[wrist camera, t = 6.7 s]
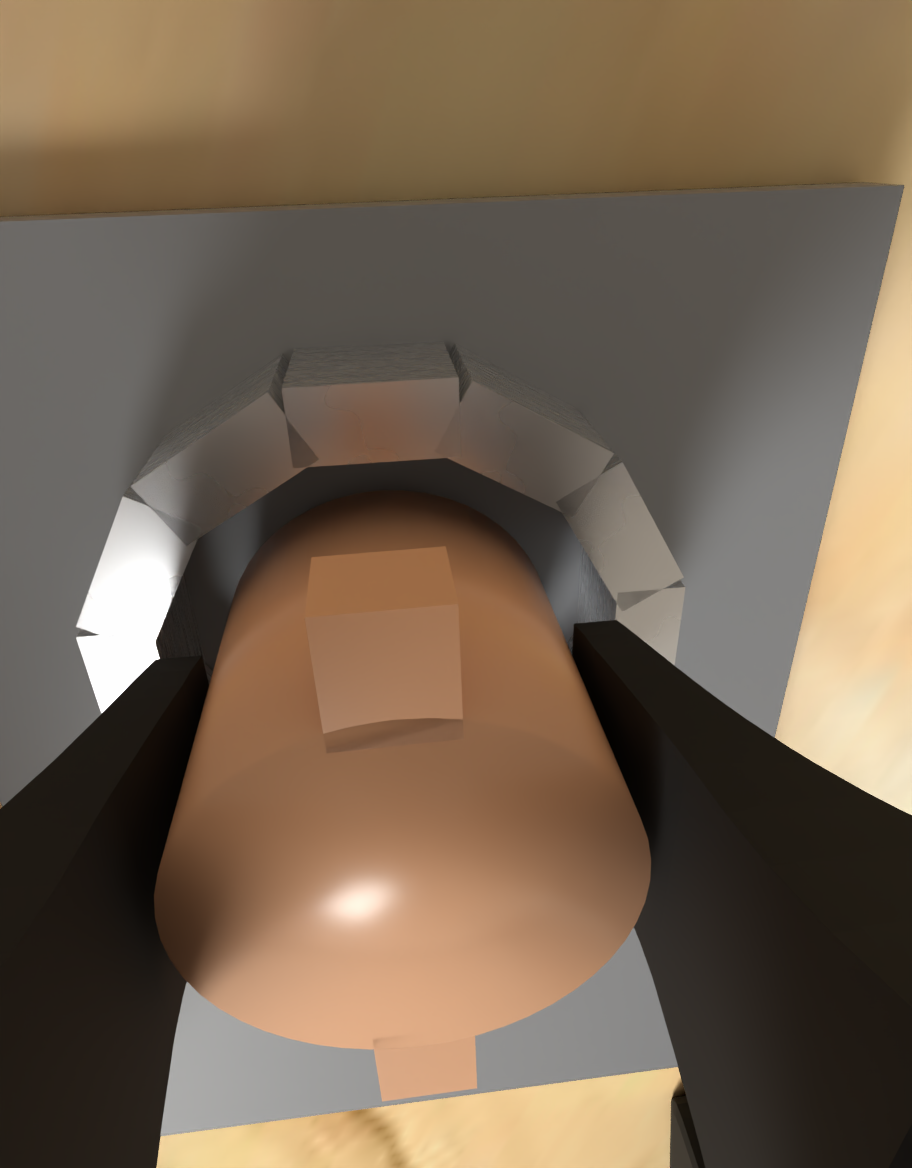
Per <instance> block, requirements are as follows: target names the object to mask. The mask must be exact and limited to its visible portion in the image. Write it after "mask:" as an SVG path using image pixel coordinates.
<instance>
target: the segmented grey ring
mask: <svg viewBox="0 0 912 1168" xmlns="http://www.w3.org/2000/svg"><path fill="white" fill-rule="evenodd" d="M437 458H448V459H450V460H453V461H455V462H457V463H459V464H461V465H463V466H465V467H467V468H469V469H472V470H474V471H476V472H478V473H480V474H482V475H484V476H486V477H488V478H491V479H493V480H495V481H497V482H499V483H501V484H503V485H505V486H507V487H510V488H512V489H514V490H516V491H518V492H520V493H522V494H524V495H526V496H529V497H531V498H533V499H535V500H537V501H539V502H541V503H543V504H545V505H547V506H550V507H552V508H554V509H556V510H558V511H560V512H562V514H563V515H564V517H565V519H566V520H567V522H568V524H569V525H570V527H571V528H572V530H573V532H574V533H575V535H576V537H577V538H578V540H579V542H580V543H581V545H582V548H581V565H580V582H579V599H578V616H577V623H586V622H598V621H610V620H617V621H619V622H620V623H621V624H623V625H624V626H626V627H627V628H628V629H629V630H631V631H632V632H633V633H634V634H636V635H637V636H638V637H639V638H641V639H642V640H643V641H644V642H646V643H647V644H648V645H649V646H651V647H652V648H653V649H654V650H656V651H657V652H658V653H659V654H661V655H662V656H663V657H664V658H666V659H667V660H668V661H669V662H671V663H672V664H673V665H675V658H676V651H677V644H678V637H679V630H680V623H681V616H682V609H683V601H684V594H685V586H684V584H683V583H682V582H681V580H680V579H682V578H684V576H683V575H682V573H681V571H680V569H679V567H678V565H677V563H676V561H675V560H674V558H673V556H672V554H671V552H670V550H669V548H668V546H667V545H666V543H665V541H664V539H663V537H662V535H661V533H660V531H659V530H658V528H657V526H656V524H655V522H654V520H653V518H652V516H651V515H650V513H649V511H648V509H647V507H646V505H645V503H644V501H643V500H642V498H641V496H640V494H639V492H638V490H637V488H636V486H635V485H634V483H633V481H632V479H631V477H630V475H629V473H628V471H627V470H626V468H625V466H624V464H623V462H622V461H621V460H620V458H619V457H618V456H617V455H616V454H615V452H614V451H613V450H612V449H611V448H610V446H609V445H608V444H607V443H606V442H605V440H604V439H603V438H602V437H601V436H600V435H599V433H598V432H597V431H596V430H595V429H594V427H593V426H592V425H591V424H590V423H589V421H588V420H587V419H586V418H585V417H584V415H583V416H582V415H581V413H580V412H579V411H578V410H577V409H576V408H575V407H573V406H571V405H569V404H568V403H566V402H564V401H562V400H560V399H558V398H556V397H554V396H553V395H551V394H549V393H547V392H545V391H543V390H541V389H539V388H537V387H536V386H534V385H532V384H530V383H528V382H526V381H524V380H522V379H520V378H519V377H517V376H515V375H513V374H511V373H509V372H507V371H505V370H503V369H502V368H500V367H498V366H496V365H494V364H492V363H490V362H488V361H487V360H485V359H483V358H481V357H479V356H477V355H475V354H473V353H471V352H470V351H468V350H466V349H464V348H462V347H460V346H458V345H456V344H454V346H453V348H452V350H451V352H450V354H448V351H447V349H446V347H445V344H444V342H443V341H436V342H418V343H400V344H381V345H363V346H345V347H326V348H308V349H294V351H293V354H292V357H291V360H290V362H289V361H288V360H287V358H286V357H285V356H284V354H283V353H282V354H281V355H279V356H278V357H276V358H275V359H273V360H272V361H270V362H269V363H268V364H266V365H265V366H263V367H262V368H260V369H259V370H257V371H256V372H255V373H253V374H252V375H250V376H249V377H247V378H246V379H244V380H243V381H242V382H240V383H239V384H237V385H236V386H234V387H233V388H231V389H230V390H229V391H227V392H226V393H224V394H223V395H221V396H220V397H218V398H217V399H216V400H214V401H213V402H211V403H210V404H208V405H207V406H205V407H204V408H203V409H201V410H200V411H198V412H197V413H195V414H194V415H193V416H191V417H190V418H188V419H187V420H185V421H184V422H182V423H181V424H180V425H178V426H177V427H175V428H174V429H172V430H171V431H169V432H168V433H167V434H166V435H165V436H164V438H163V439H162V441H161V442H159V444H158V445H157V447H156V448H155V450H154V451H153V453H152V454H151V456H150V457H149V459H148V460H147V461H146V463H145V464H144V466H143V467H142V469H141V470H140V472H139V473H138V475H137V476H136V478H135V479H134V480H133V482H132V483H131V485H130V486H129V488H128V489H127V491H126V492H125V494H124V495H123V497H122V500H121V502H120V505H119V508H118V511H117V514H116V516H115V519H114V522H113V525H112V528H111V530H110V533H109V536H108V539H107V542H106V544H105V547H104V550H103V553H102V556H101V558H100V561H99V564H98V567H97V570H96V572H95V575H94V578H93V581H92V584H91V586H90V589H89V592H88V595H87V597H86V600H85V603H84V606H83V609H82V611H81V614H80V617H79V620H78V623H77V625H76V627H78V628H81V630H80V631H79V633H78V635H77V637H76V639H77V642H78V645H79V648H80V651H81V654H82V657H83V660H84V663H85V665H86V668H87V671H88V674H89V677H90V680H91V683H92V686H93V689H94V692H95V695H96V698H97V701H98V704H99V707H100V710H101V713H103V712H104V711H105V710H106V709H107V708H108V707H109V706H110V704H111V703H112V702H113V701H114V700H115V699H116V698H117V697H118V696H119V695H120V694H121V693H122V692H123V691H124V690H125V689H126V688H127V687H128V686H129V685H130V684H131V683H132V682H133V681H134V680H135V679H136V678H137V677H138V676H139V675H140V674H141V673H142V672H143V671H144V670H145V669H146V668H147V667H148V666H149V665H150V664H151V663H152V662H154V661H155V660H156V659H166V658H178V657H189V656H201V655H202V657H203V662H204V666H205V670H206V674H207V678H208V682H209V684H210V680H211V677H212V673H213V668H212V667H211V666H210V665H209V664H208V663H207V662H206V661H205V658H204V654H203V650H202V645H201V641H200V637H199V633H198V629H197V624H196V620H195V616H194V612H193V608H192V604H191V599H190V595H189V591H188V587H187V583H186V578H185V574H184V571H185V568H186V566H187V564H188V561H189V559H190V556H191V554H192V552H193V549H194V547H195V544H196V542H197V539H198V538H200V537H201V536H203V535H204V534H206V533H208V532H209V531H211V530H212V529H214V528H215V527H217V526H218V525H220V524H221V523H223V522H224V521H226V520H227V519H229V518H230V517H232V516H234V515H235V514H237V513H238V512H240V511H241V510H243V509H244V508H246V507H247V506H249V505H250V504H252V503H253V502H255V501H256V500H258V499H260V498H261V497H263V496H264V495H266V494H267V493H269V492H270V491H272V490H273V489H275V488H276V487H278V486H279V485H281V484H282V483H284V482H286V481H287V480H289V479H290V478H292V477H293V476H295V475H296V474H298V473H299V472H301V471H302V470H304V469H305V468H307V467H318V466H333V465H348V464H362V463H377V462H392V461H407V460H422V459H437ZM567 644H568V647H569V649H570V652H571V654H572V647H573V635H572V636H571V638H570V639H569V641H568V642H567Z"/></svg>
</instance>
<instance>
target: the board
mask: <svg viewBox="0 0 912 1168" xmlns="http://www.w3.org/2000/svg"><path fill="white" fill-rule="evenodd" d="M903 189H904V185H893V184H878V183H863V182H862V183H837V184H812V185H787V186H762V187H737V188H712V189H686V190H661V191H636V192H611V193H586V194H561V195H536V196H511V197H485V198H460V199H435V200H410V201H385V202H360V203H335V204H310V205H284V206H259V207H234V208H209V209H184V210H159V211H134V212H109V213H83V214H58V215H33V216H8V217H0V803H1V805H2V807H3V806H4V805H5V804H6V803H7V802H8V801H10V800H11V799H12V798H13V797H14V796H15V795H16V794H17V793H18V792H20V791H21V790H22V789H23V788H24V787H25V786H26V785H27V784H28V783H30V782H31V781H32V780H33V779H34V778H35V777H36V776H37V775H38V774H40V773H41V772H42V771H43V770H44V769H45V768H46V767H47V766H48V765H50V764H51V763H52V762H53V761H54V760H55V759H56V758H57V757H58V756H59V755H60V754H61V753H62V752H63V751H64V750H65V749H66V748H67V747H68V746H69V745H70V744H71V743H72V742H73V741H74V740H75V739H76V738H77V737H78V736H79V735H80V734H81V733H82V732H83V731H84V730H85V729H87V728H88V727H89V726H90V725H91V724H92V723H93V722H94V721H95V720H96V719H97V718H98V717H99V716H100V715H101V714H102V713H101V710H100V707H99V704H98V701H97V698H96V695H95V692H94V689H93V686H92V683H91V680H90V677H89V674H88V671H87V668H86V665H85V663H84V660H83V657H82V654H81V651H80V648H79V645H78V642H77V639H76V637H77V635H78V633H79V631H80V630H81V628H78V627H76V625H77V623H78V620H79V617H80V614H81V611H82V609H83V606H84V603H85V600H86V597H87V595H88V592H89V589H90V586H91V584H92V581H93V578H94V575H95V572H96V570H97V567H98V564H99V561H100V558H101V556H102V553H103V550H104V547H105V544H106V542H107V539H108V536H109V533H110V530H111V528H112V525H113V522H114V519H115V516H116V514H117V511H118V508H119V505H120V502H121V500H122V497H123V495H124V494H125V492H126V491H127V489H128V488H129V486H130V485H131V483H132V482H133V480H134V479H135V478H136V476H137V475H138V473H139V472H140V470H141V469H142V467H143V466H144V464H145V463H146V461H147V460H148V459H149V457H150V456H151V454H152V453H153V451H154V450H155V448H156V447H157V445H158V444H159V442H161V441H162V439H163V438H164V436H165V435H166V434H167V433H168V432H169V431H171V430H172V429H174V428H175V427H177V426H178V425H180V424H181V423H182V422H184V421H185V420H187V419H188V418H190V417H191V416H193V415H194V414H195V413H197V412H198V411H200V410H201V409H203V408H204V407H205V406H207V405H208V404H210V403H211V402H213V401H214V400H216V399H217V398H218V397H220V396H221V395H223V394H224V393H226V392H227V391H229V390H230V389H231V388H233V387H234V386H236V385H237V384H239V383H240V382H242V381H243V380H244V379H246V378H247V377H249V376H250V375H252V374H253V373H255V372H256V371H257V370H259V369H260V368H262V367H263V366H265V365H266V364H268V363H269V362H270V361H272V360H273V359H275V358H276V357H278V356H279V355H281V354H282V353H283V354H284V356H285V357H286V358H287V360H288V361H289V362H290V360H291V357H292V354H293V351H294V349H308V348H326V347H345V346H363V345H381V344H400V343H418V342H436V341H443V342H444V344H445V347H446V349H447V351H448V354H450V352H451V350H452V348H453V346H454V344H456V345H458V346H460V347H462V348H464V349H466V350H468V351H470V352H471V353H473V354H475V355H477V356H479V357H481V358H483V359H485V360H487V361H488V362H490V363H492V364H494V365H496V366H498V367H500V368H502V369H503V370H505V371H507V372H509V373H511V374H513V375H515V376H517V377H519V378H520V379H522V380H524V381H526V382H528V383H530V384H532V385H534V386H536V387H537V388H539V389H541V390H543V391H545V392H547V393H549V394H551V395H553V396H554V397H556V398H558V399H560V400H562V401H564V402H566V403H568V404H569V405H571V406H573V407H575V408H576V409H577V410H578V411H579V412H580V413H581V415H582V416H583V415H584V417H585V418H586V419H587V420H588V421H589V423H590V424H591V425H592V426H593V427H594V429H595V430H596V431H597V432H598V433H599V435H600V436H601V437H602V438H603V439H604V440H605V442H606V443H607V444H608V445H609V446H610V448H611V449H612V450H613V451H614V452H615V454H616V455H617V456H618V457H619V458H620V460H621V461H622V462H623V464H624V466H625V468H626V470H627V471H628V473H629V475H630V477H631V479H632V481H633V483H634V485H635V486H636V488H637V490H638V492H639V494H640V496H641V498H642V500H643V501H644V503H645V505H646V507H647V509H648V511H649V513H650V515H651V516H652V518H653V520H654V522H655V524H656V526H657V528H658V530H659V531H660V533H661V535H662V537H663V539H664V541H665V543H666V545H667V546H668V548H669V550H670V552H671V554H672V556H673V558H674V560H675V561H676V563H677V565H678V567H679V569H680V571H681V573H682V575H683V576H684V578H682V579H680V580H681V582H682V583H683V584H684V586H685V594H684V601H683V609H682V616H681V623H680V630H679V637H678V644H677V651H676V658H675V665H674V666H676V667H677V668H678V669H680V670H681V671H682V672H683V673H685V674H686V675H687V676H689V677H690V678H691V679H692V680H694V681H695V682H696V683H698V684H699V685H700V686H702V687H703V688H704V689H706V690H707V691H708V692H710V693H711V694H712V695H714V696H715V697H716V698H718V699H719V700H720V701H722V702H723V703H724V704H726V705H727V706H729V707H730V708H732V709H733V710H734V711H736V712H737V713H739V714H740V715H741V716H743V717H744V718H746V719H747V720H749V721H750V722H752V723H753V724H755V725H756V726H758V727H759V728H761V729H762V730H764V731H765V732H767V733H768V734H770V735H771V736H773V737H774V738H775V733H776V729H777V725H778V721H779V716H780V712H781V708H782V704H783V699H784V695H785V691H786V687H787V682H788V678H789V674H790V670H791V665H792V661H793V657H794V653H795V648H796V644H797V640H798V636H799V631H800V627H801V623H802V619H803V614H804V610H805V606H806V602H807V597H808V593H809V589H810V585H811V580H812V576H813V572H814V568H815V563H816V559H817V555H818V551H819V546H820V542H821V538H822V534H823V529H824V525H825V521H826V517H827V512H828V508H829V504H830V500H831V495H832V491H833V487H834V483H835V478H836V474H837V470H838V466H839V461H840V457H841V453H842V449H843V444H844V440H845V436H846V432H847V427H848V423H849V419H850V415H851V410H852V406H853V402H854V398H855V393H856V389H857V385H858V381H859V376H860V372H861V368H862V364H863V359H864V355H865V351H866V347H867V342H868V338H869V334H870V330H871V325H872V321H873V317H874V313H875V308H876V304H877V300H878V296H879V291H880V287H881V283H882V279H883V274H884V270H885V266H886V262H887V257H888V253H889V249H890V245H891V240H892V236H893V232H894V228H895V223H896V219H897V215H898V211H899V206H900V202H901V198H902V194H903ZM382 490H405V491H414V492H423V493H428V494H433V495H437V496H441V497H445V498H448V499H451V500H454V501H456V502H459V503H462V504H465V505H467V506H469V507H471V508H473V509H475V510H477V511H478V512H480V513H482V514H484V515H486V516H487V517H489V518H490V519H491V520H493V521H494V522H496V523H497V524H498V525H500V526H501V527H502V528H503V529H505V530H506V531H507V532H508V533H509V534H510V535H511V536H512V537H513V538H514V539H515V540H516V541H517V542H518V544H519V545H520V546H521V547H522V549H523V550H524V551H525V553H526V554H527V555H528V557H529V558H530V560H531V562H532V564H533V566H534V567H535V569H536V571H537V573H538V575H539V578H540V580H541V583H542V585H543V587H544V590H545V592H546V594H547V597H548V599H549V602H550V604H551V606H552V609H553V611H554V614H555V616H556V618H557V621H558V623H559V625H560V628H561V630H562V633H563V635H564V637H565V640H566V642H568V641H569V639H570V638H571V636H572V635H573V629H574V624H575V623H577V616H578V599H579V582H580V565H581V548H582V545H581V543H580V542H579V540H578V538H577V537H576V535H575V533H574V532H573V530H572V528H571V527H570V525H569V524H568V522H567V520H566V519H565V517H564V515H563V514H562V512H560V511H558V510H556V509H554V508H552V507H550V506H547V505H545V504H543V503H541V502H539V501H537V500H535V499H533V498H531V497H529V496H526V495H524V494H522V493H520V492H518V491H516V490H514V489H512V488H510V487H507V486H505V485H503V484H501V483H499V482H497V481H495V480H493V479H491V478H488V477H486V476H484V475H482V474H480V473H478V472H476V471H474V470H472V469H469V468H467V467H465V466H463V465H461V464H459V463H457V462H455V461H453V460H450V459H448V458H437V459H422V460H407V461H392V462H377V463H362V464H348V465H333V466H318V467H307V468H305V469H304V470H302V471H301V472H299V473H298V474H296V475H295V476H293V477H292V478H290V479H289V480H287V481H286V482H284V483H282V484H281V485H279V486H278V487H276V488H275V489H273V490H272V491H270V492H269V493H267V494H266V495H264V496H263V497H261V498H260V499H258V500H256V501H255V502H253V503H252V504H250V505H249V506H247V507H246V508H244V509H243V510H241V511H240V512H238V513H237V514H235V515H234V516H232V517H230V518H229V519H227V520H226V521H224V522H223V523H221V524H220V525H218V526H217V527H215V528H214V529H212V530H211V531H209V532H208V533H206V534H204V535H203V536H201V537H200V538H198V539H197V542H196V544H195V547H194V549H193V552H192V554H191V556H190V559H189V561H188V564H187V566H186V568H185V571H184V574H185V578H186V583H187V587H188V591H189V595H190V599H191V604H192V608H193V612H194V616H195V620H196V624H197V629H198V633H199V637H200V641H201V645H202V650H203V654H204V658H205V661H206V662H207V663H208V664H209V665H210V666H211V667H212V668H213V669H214V666H215V662H216V658H217V655H218V651H219V648H220V644H221V640H222V637H223V633H224V629H225V626H226V622H227V618H228V615H229V611H230V607H231V604H232V600H233V597H234V594H235V591H236V588H237V586H238V583H239V580H240V578H241V576H242V574H243V572H244V571H245V569H246V567H247V565H248V563H249V562H250V560H251V559H252V558H253V556H254V555H255V554H256V553H257V551H258V550H259V549H260V547H261V546H262V545H263V544H264V543H265V542H266V541H267V540H268V539H269V538H270V537H271V536H272V535H273V534H274V533H275V532H276V531H278V530H279V529H280V528H282V527H283V526H284V525H286V524H287V523H288V522H290V521H291V520H292V519H294V518H296V517H297V516H299V515H301V514H303V513H305V512H306V511H308V510H310V509H312V508H314V507H316V506H319V505H321V504H324V503H326V502H329V501H331V500H334V499H338V498H341V497H345V496H349V495H353V494H357V493H365V492H372V491H382ZM475 1046H476V1072H477V1088H476V1089H469V1090H461V1091H454V1092H447V1093H440V1094H433V1095H426V1096H418V1097H411V1098H404V1099H397V1100H390V1101H383V1102H382V1098H381V1091H380V1085H379V1079H378V1073H377V1066H376V1060H375V1054H374V1049H370V1050H369V1049H350V1048H338V1047H330V1046H323V1045H315V1044H311V1043H306V1042H301V1041H297V1040H292V1039H288V1038H285V1037H282V1036H279V1035H275V1034H272V1033H269V1032H266V1031H263V1030H261V1029H258V1028H256V1027H254V1026H251V1025H249V1024H247V1023H244V1022H242V1021H240V1020H238V1019H236V1018H235V1017H233V1016H231V1015H229V1014H228V1013H226V1012H224V1011H222V1010H221V1009H219V1008H217V1007H216V1006H215V1005H213V1004H212V1003H211V1002H209V1001H208V1000H207V999H205V998H204V997H203V996H201V995H200V994H199V993H198V992H197V991H196V990H195V989H194V988H193V987H192V986H191V985H190V984H189V983H188V982H187V983H186V987H185V991H184V995H183V999H182V1004H181V1008H180V1013H179V1018H178V1023H177V1028H176V1033H175V1038H174V1045H173V1051H172V1058H171V1065H170V1072H169V1079H168V1086H167V1092H166V1099H165V1106H164V1113H163V1120H162V1127H161V1135H160V1136H166V1135H173V1134H181V1133H188V1132H196V1131H203V1130H211V1129H218V1128H225V1127H233V1126H240V1125H248V1124H255V1123H263V1122H270V1121H278V1120H285V1119H292V1118H300V1117H307V1116H315V1115H322V1114H330V1113H337V1112H345V1111H352V1110H360V1109H367V1108H374V1107H382V1106H389V1105H397V1104H404V1103H412V1102H419V1101H427V1100H434V1099H442V1098H449V1097H456V1096H464V1095H471V1094H479V1093H486V1092H494V1091H501V1090H509V1089H516V1088H523V1087H531V1086H538V1085H546V1084H553V1083H561V1082H568V1081H576V1080H583V1079H591V1078H598V1077H605V1076H613V1075H620V1074H628V1073H635V1072H643V1071H650V1070H658V1069H665V1068H673V1067H678V1064H677V1061H676V1057H675V1053H674V1050H673V1046H672V1043H671V1040H670V1036H669V1033H668V1029H667V1026H666V1022H665V1019H664V1016H663V1012H662V1009H661V1005H660V1002H659V998H658V995H657V991H656V988H655V985H654V981H653V978H652V975H651V972H650V969H649V966H648V964H647V961H646V958H645V955H644V952H643V949H642V947H641V944H640V941H639V939H638V936H637V934H636V931H635V929H634V927H633V929H632V930H631V932H630V934H629V935H628V937H627V939H626V940H625V942H624V943H623V944H622V945H621V946H620V948H619V949H618V950H617V951H616V953H615V954H614V955H613V956H612V958H611V959H610V960H609V961H608V962H607V963H606V964H605V965H603V966H602V967H601V968H600V969H599V970H598V971H597V972H596V973H595V974H594V975H593V976H592V977H590V978H589V979H588V980H587V981H585V982H584V983H583V984H582V985H580V986H579V987H578V988H576V989H575V990H574V991H572V992H571V993H569V994H568V995H566V996H564V997H563V998H561V999H560V1000H558V1001H557V1002H555V1003H553V1004H552V1005H550V1006H548V1007H546V1008H544V1009H542V1010H540V1011H538V1012H536V1013H534V1014H532V1015H530V1016H528V1017H526V1018H524V1019H521V1020H519V1021H516V1022H514V1023H512V1024H509V1025H507V1026H504V1027H501V1028H498V1029H495V1030H492V1031H489V1032H486V1033H483V1034H480V1035H476V1036H475Z"/></svg>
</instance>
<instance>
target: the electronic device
mask: <svg viewBox="0 0 912 1168" xmlns="http://www.w3.org/2000/svg"><path fill="white" fill-rule="evenodd" d="M670 1168H705V1164H704V1160H703V1156H702V1153H701V1149H700V1145H699V1141H698V1137H697V1134H696V1130H695V1126H694V1123H693V1119H692V1115H691V1112H690V1108H689V1104H688V1101H687V1097H686V1096H681V1097H676V1098H673V1099H672V1101H671V1139H670Z"/></svg>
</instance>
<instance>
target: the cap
mask: <svg viewBox="0 0 912 1168" xmlns="http://www.w3.org/2000/svg"><path fill="white" fill-rule="evenodd" d="M650 875H651V855H650V849H649V842H648V837H647V835H646V832H645V829H644V826H643V823H642V821H641V818H640V816H639V813H638V811H637V808H636V806H635V804H634V801H633V799H632V797H631V794H630V792H629V789H628V787H627V785H626V782H625V780H624V778H623V775H622V773H621V770H620V768H619V766H618V763H617V761H616V759H615V756H614V754H613V751H612V749H611V747H610V744H609V742H608V739H607V737H606V735H605V732H604V730H603V728H602V725H601V723H600V720H599V718H598V716H597V713H596V711H595V709H594V706H593V704H592V701H591V699H590V697H589V694H588V692H587V690H586V687H585V685H584V682H583V680H582V678H581V675H580V673H579V671H578V668H577V666H576V663H575V661H574V659H573V656H572V654H571V652H570V649H569V647H568V644H567V642H566V640H565V637H564V635H563V633H562V630H561V628H560V625H559V623H558V621H557V618H556V616H555V614H554V611H553V609H552V606H551V604H550V602H549V599H548V597H547V594H546V592H545V590H544V587H543V585H542V583H541V580H540V578H539V575H538V573H537V571H536V569H535V567H534V566H533V564H532V562H531V560H530V558H529V557H528V555H527V554H526V553H525V551H524V550H523V549H522V547H521V546H520V545H519V544H518V542H517V541H516V540H515V539H514V538H513V537H512V536H511V535H510V534H509V533H508V532H507V531H506V530H505V529H503V528H502V527H501V526H500V525H498V524H497V523H496V522H494V521H493V520H491V519H490V518H489V517H487V516H486V515H484V514H482V513H480V512H478V511H477V510H475V509H473V508H471V507H469V506H467V505H465V504H462V503H459V502H456V501H454V500H451V499H448V498H445V497H441V496H437V495H433V494H428V493H423V492H414V491H405V490H382V491H372V492H365V493H357V494H353V495H349V496H345V497H341V498H338V499H334V500H331V501H329V502H326V503H324V504H321V505H319V506H316V507H314V508H312V509H310V510H308V511H306V512H305V513H303V514H301V515H299V516H297V517H296V518H294V519H292V520H291V521H290V522H288V523H287V524H286V525H284V526H283V527H282V528H280V529H279V530H278V531H276V532H275V533H274V534H273V535H272V536H271V537H270V538H269V539H268V540H267V541H266V542H265V543H264V544H263V545H262V546H261V547H260V549H259V550H258V551H257V553H256V554H255V555H254V556H253V558H252V559H251V560H250V562H249V563H248V565H247V567H246V569H245V571H244V572H243V574H242V576H241V578H240V580H239V583H238V586H237V588H236V591H235V594H234V597H233V600H232V604H231V607H230V611H229V615H228V618H227V622H226V626H225V629H224V633H223V637H222V640H221V644H220V648H219V651H218V655H217V658H216V662H215V666H214V669H213V673H212V677H211V680H210V684H209V688H208V691H207V695H206V699H205V702H204V706H203V709H202V713H201V717H200V720H199V724H198V728H197V731H196V735H195V739H194V742H193V746H192V750H191V753H190V757H189V760H188V764H187V768H186V771H185V775H184V779H183V782H182V786H181V790H180V793H179V797H178V801H177V804H176V808H175V811H174V815H173V819H172V822H171V826H170V830H169V833H168V837H167V841H166V844H165V848H164V852H163V855H162V859H161V862H160V866H159V870H158V874H157V880H156V886H155V892H154V908H155V920H156V924H157V928H158V932H159V936H160V940H161V942H162V944H163V946H164V948H165V950H166V952H167V954H168V956H169V959H170V960H171V962H172V963H173V964H174V966H175V967H176V969H177V970H178V971H179V973H180V974H181V975H182V977H183V978H184V979H185V980H186V981H187V982H188V983H189V984H190V985H191V986H192V987H193V988H194V989H195V990H196V991H197V992H198V993H199V994H200V995H201V996H203V997H204V998H205V999H207V1000H208V1001H209V1002H211V1003H212V1004H213V1005H215V1006H216V1007H217V1008H219V1009H221V1010H222V1011H224V1012H226V1013H228V1014H229V1015H231V1016H233V1017H235V1018H236V1019H238V1020H240V1021H242V1022H244V1023H247V1024H249V1025H251V1026H254V1027H256V1028H258V1029H261V1030H263V1031H266V1032H269V1033H272V1034H275V1035H279V1036H282V1037H285V1038H288V1039H292V1040H297V1041H301V1042H306V1043H311V1044H315V1045H323V1046H330V1047H338V1048H350V1049H369V1050H370V1049H374V1054H375V1060H376V1066H377V1073H378V1079H379V1085H380V1091H381V1098H382V1102H383V1101H390V1100H397V1099H404V1098H411V1097H418V1096H426V1095H433V1094H440V1093H447V1092H454V1091H461V1090H469V1089H476V1088H477V1072H476V1046H475V1036H476V1035H480V1034H483V1033H486V1032H489V1031H492V1030H495V1029H498V1028H501V1027H504V1026H507V1025H509V1024H512V1023H514V1022H516V1021H519V1020H521V1019H524V1018H526V1017H528V1016H530V1015H532V1014H534V1013H536V1012H538V1011H540V1010H542V1009H544V1008H546V1007H548V1006H550V1005H552V1004H553V1003H555V1002H557V1001H558V1000H560V999H561V998H563V997H564V996H566V995H568V994H569V993H571V992H572V991H574V990H575V989H576V988H578V987H579V986H580V985H582V984H583V983H584V982H585V981H587V980H588V979H589V978H590V977H592V976H593V975H594V974H595V973H596V972H597V971H598V970H599V969H600V968H601V967H602V966H603V965H605V964H606V963H607V962H608V961H609V960H610V959H611V958H612V956H613V955H614V954H615V953H616V951H617V950H618V949H619V948H620V946H621V945H622V944H623V943H624V942H625V940H626V939H627V937H628V935H629V934H630V932H631V930H632V929H633V927H634V926H635V924H636V922H637V920H638V918H639V915H640V913H641V911H642V908H643V906H644V904H645V901H646V897H647V892H648V888H649V884H650Z"/></svg>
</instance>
